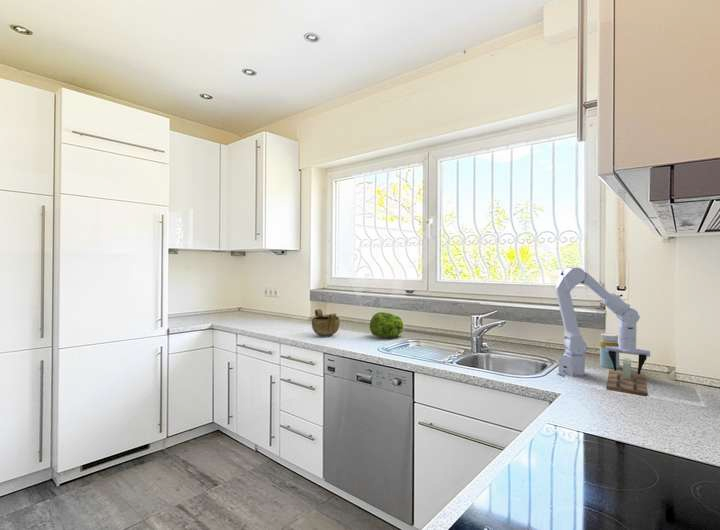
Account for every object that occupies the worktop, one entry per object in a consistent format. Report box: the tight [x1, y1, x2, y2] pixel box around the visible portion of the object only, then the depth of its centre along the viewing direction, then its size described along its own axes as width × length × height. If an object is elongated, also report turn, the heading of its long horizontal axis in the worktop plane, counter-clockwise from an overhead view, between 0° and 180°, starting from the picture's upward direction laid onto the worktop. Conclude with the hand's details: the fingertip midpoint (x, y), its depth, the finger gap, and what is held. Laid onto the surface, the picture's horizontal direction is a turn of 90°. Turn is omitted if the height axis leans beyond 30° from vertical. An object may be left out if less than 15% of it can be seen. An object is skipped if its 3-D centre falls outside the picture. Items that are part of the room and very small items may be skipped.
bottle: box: [599, 332, 620, 370], centre depth 165 cm, size 7×7×15 cm
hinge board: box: [605, 369, 649, 397], centre depth 146 cm, size 26×12×3 cm, turn 145°
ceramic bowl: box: [311, 308, 341, 338], centre depth 234 cm, size 22×17×15 cm
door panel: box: [622, 357, 632, 380], centre depth 152 cm, size 10×2×6 cm, turn 145°
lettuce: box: [369, 311, 405, 339], centre depth 230 cm, size 16×21×15 cm
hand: (626, 371), depth 152 cm, fingers open, 7 cm apart
